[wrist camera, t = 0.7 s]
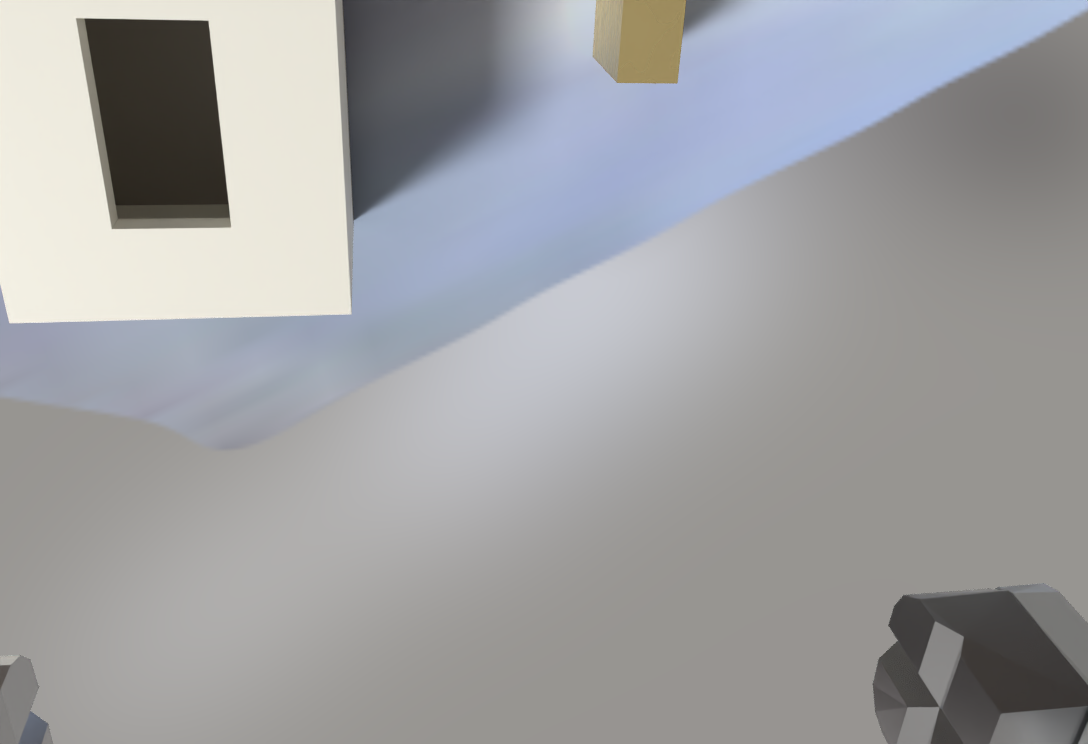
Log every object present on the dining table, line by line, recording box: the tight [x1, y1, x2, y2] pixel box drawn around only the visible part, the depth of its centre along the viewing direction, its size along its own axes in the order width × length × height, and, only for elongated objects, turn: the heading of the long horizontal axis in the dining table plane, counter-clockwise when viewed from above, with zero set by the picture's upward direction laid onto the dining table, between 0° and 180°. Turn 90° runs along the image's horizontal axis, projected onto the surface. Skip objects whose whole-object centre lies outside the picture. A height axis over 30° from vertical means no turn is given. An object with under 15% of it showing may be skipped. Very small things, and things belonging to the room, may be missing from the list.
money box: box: [0, 0, 354, 323], centre depth 38 cm, size 14×12×10 cm
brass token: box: [593, 0, 686, 83], centre depth 42 cm, size 5×2×5 cm, turn 178°
